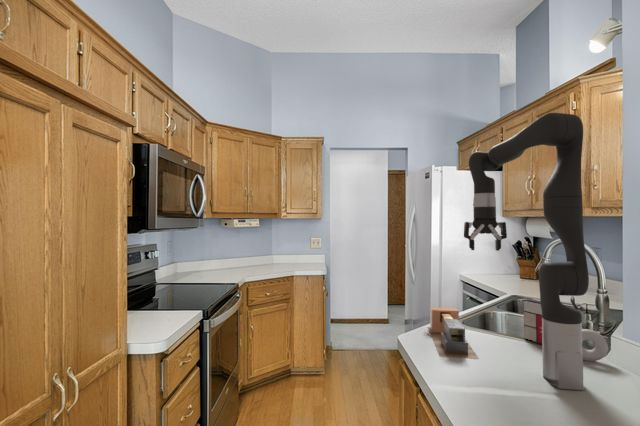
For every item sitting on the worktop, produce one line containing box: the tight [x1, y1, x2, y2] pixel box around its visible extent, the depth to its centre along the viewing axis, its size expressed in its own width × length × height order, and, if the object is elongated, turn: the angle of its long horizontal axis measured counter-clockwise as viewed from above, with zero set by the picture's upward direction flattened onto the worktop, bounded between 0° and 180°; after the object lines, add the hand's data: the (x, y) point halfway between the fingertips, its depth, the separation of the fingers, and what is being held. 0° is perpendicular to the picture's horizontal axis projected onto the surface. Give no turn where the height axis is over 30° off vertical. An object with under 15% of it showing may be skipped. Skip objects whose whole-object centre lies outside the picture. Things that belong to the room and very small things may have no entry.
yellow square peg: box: [440, 312, 458, 335], centre depth 135 cm, size 20×3×3 cm, turn 170°
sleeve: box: [441, 319, 469, 354], centre depth 125 cm, size 12×7×8 cm, turn 170°
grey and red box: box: [523, 298, 542, 345], centre depth 134 cm, size 11×4×15 cm, turn 25°
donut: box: [582, 328, 609, 362], centre depth 116 cm, size 10×4×10 cm, turn 56°
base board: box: [427, 326, 480, 360], centre depth 132 cm, size 33×12×1 cm, turn 170°
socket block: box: [429, 306, 460, 333], centre depth 144 cm, size 5×10×9 cm, turn 80°
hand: (485, 250), depth 133 cm, fingers open, 8 cm apart
